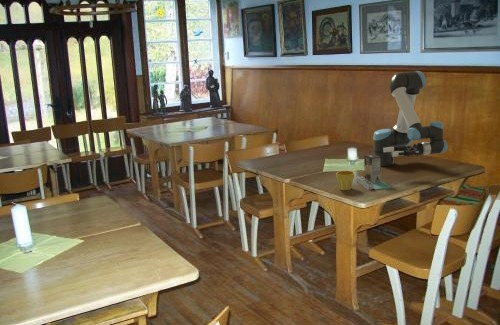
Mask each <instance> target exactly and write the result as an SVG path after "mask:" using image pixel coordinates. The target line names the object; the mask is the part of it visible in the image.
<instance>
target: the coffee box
mask: <svg viewBox="0 0 500 325" xmlns="http://www.w3.org/2000/svg"><path fill="white" fill-rule="evenodd" d="M363 156H364V162H363V163H364V167H363V168H364V178H365V179H366V180H368V181H369V182H371V183H378V182H381V166H380V157H379V156H377V155H375V154H374V153H370V154H364V155H363Z"/></svg>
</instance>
